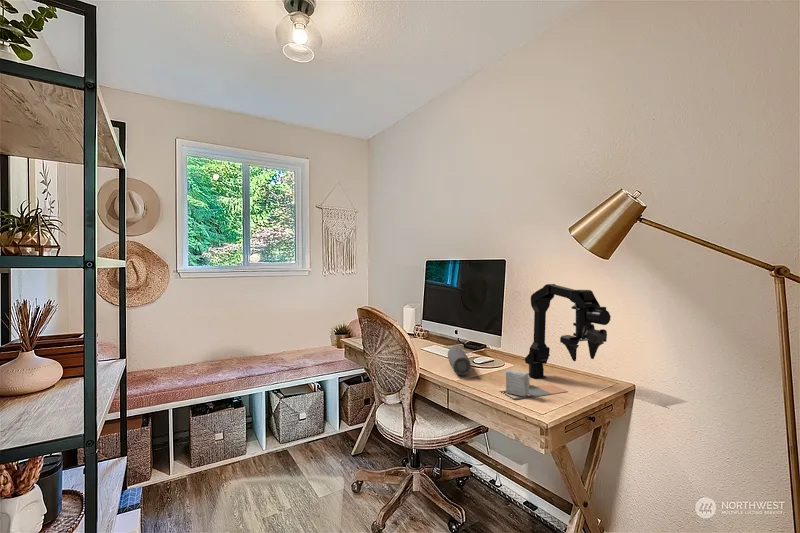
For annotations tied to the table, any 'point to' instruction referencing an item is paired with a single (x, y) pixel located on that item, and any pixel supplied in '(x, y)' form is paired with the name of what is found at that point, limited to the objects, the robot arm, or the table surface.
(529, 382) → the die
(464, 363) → the bluetooth speaker
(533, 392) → the game mat
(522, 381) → the medicine box
